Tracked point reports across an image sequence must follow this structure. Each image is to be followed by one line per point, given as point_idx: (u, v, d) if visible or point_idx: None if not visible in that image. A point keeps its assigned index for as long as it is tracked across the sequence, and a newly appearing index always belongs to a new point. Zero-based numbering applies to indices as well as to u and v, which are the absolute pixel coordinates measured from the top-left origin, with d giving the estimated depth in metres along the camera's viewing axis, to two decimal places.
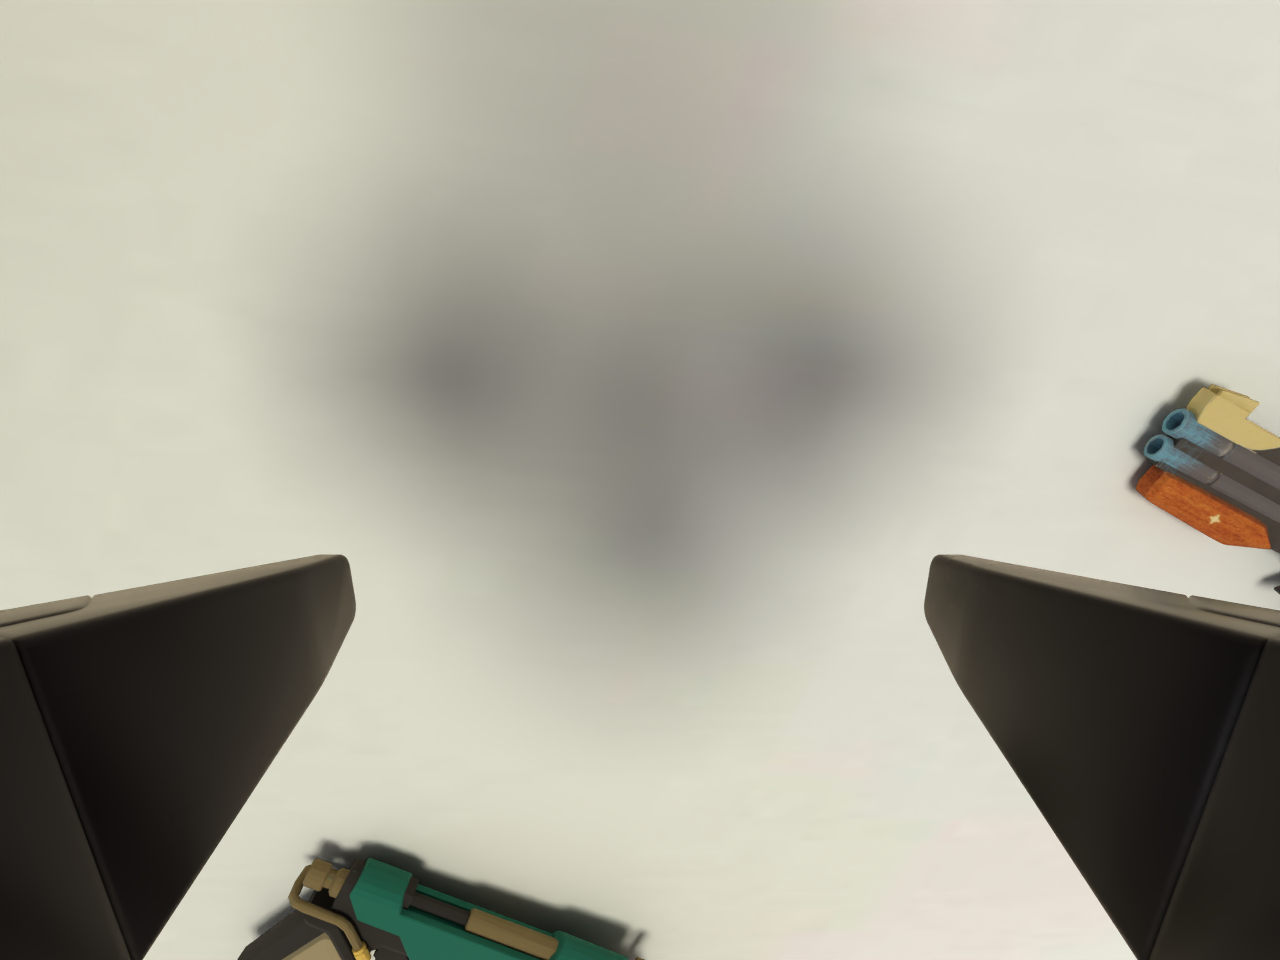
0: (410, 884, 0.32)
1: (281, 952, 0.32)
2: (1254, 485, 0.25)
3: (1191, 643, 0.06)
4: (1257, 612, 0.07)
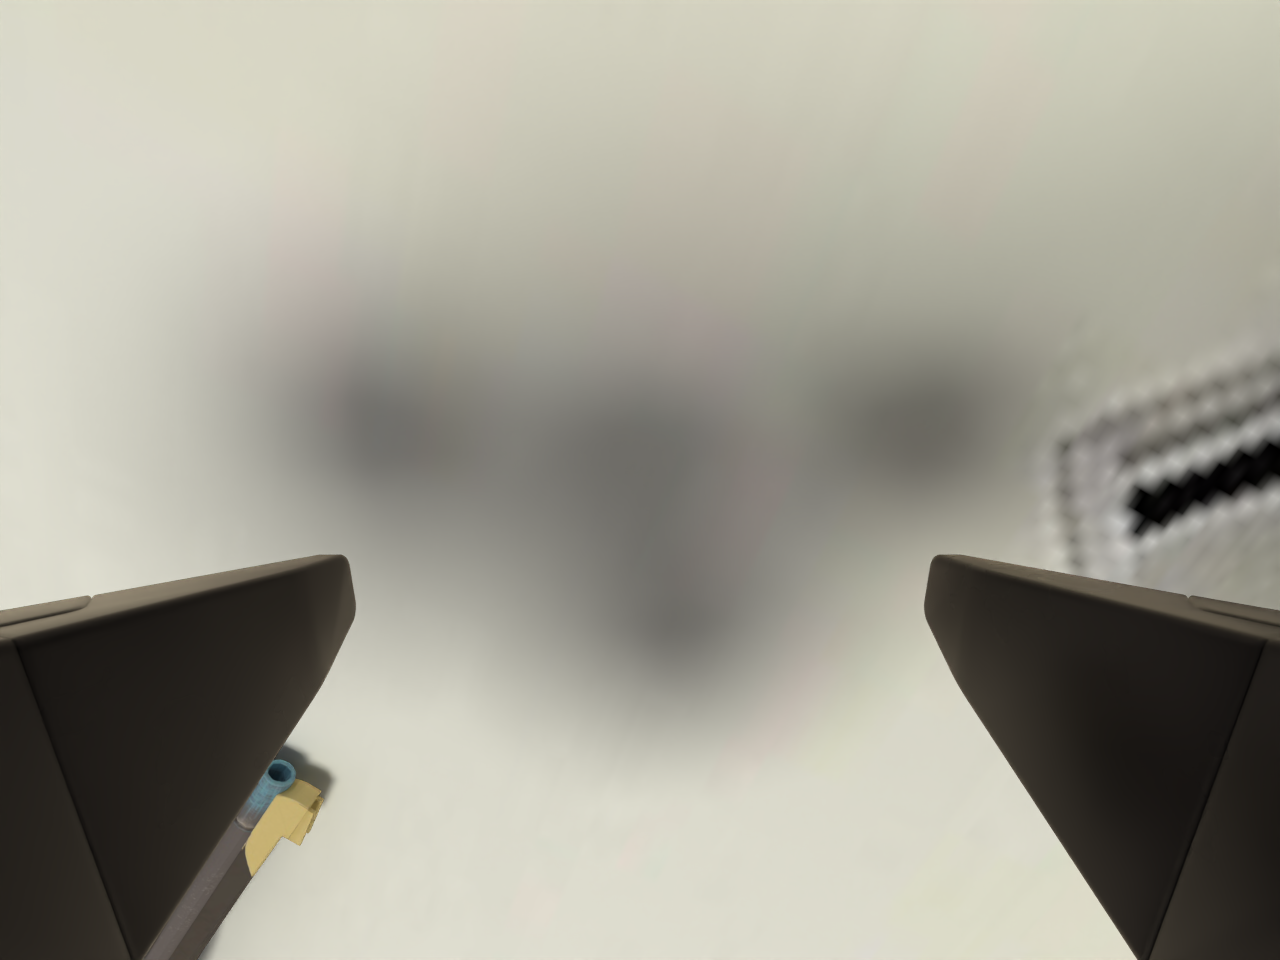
0: None
1: None
2: None
3: (1191, 643, 0.06)
4: (1257, 612, 0.07)
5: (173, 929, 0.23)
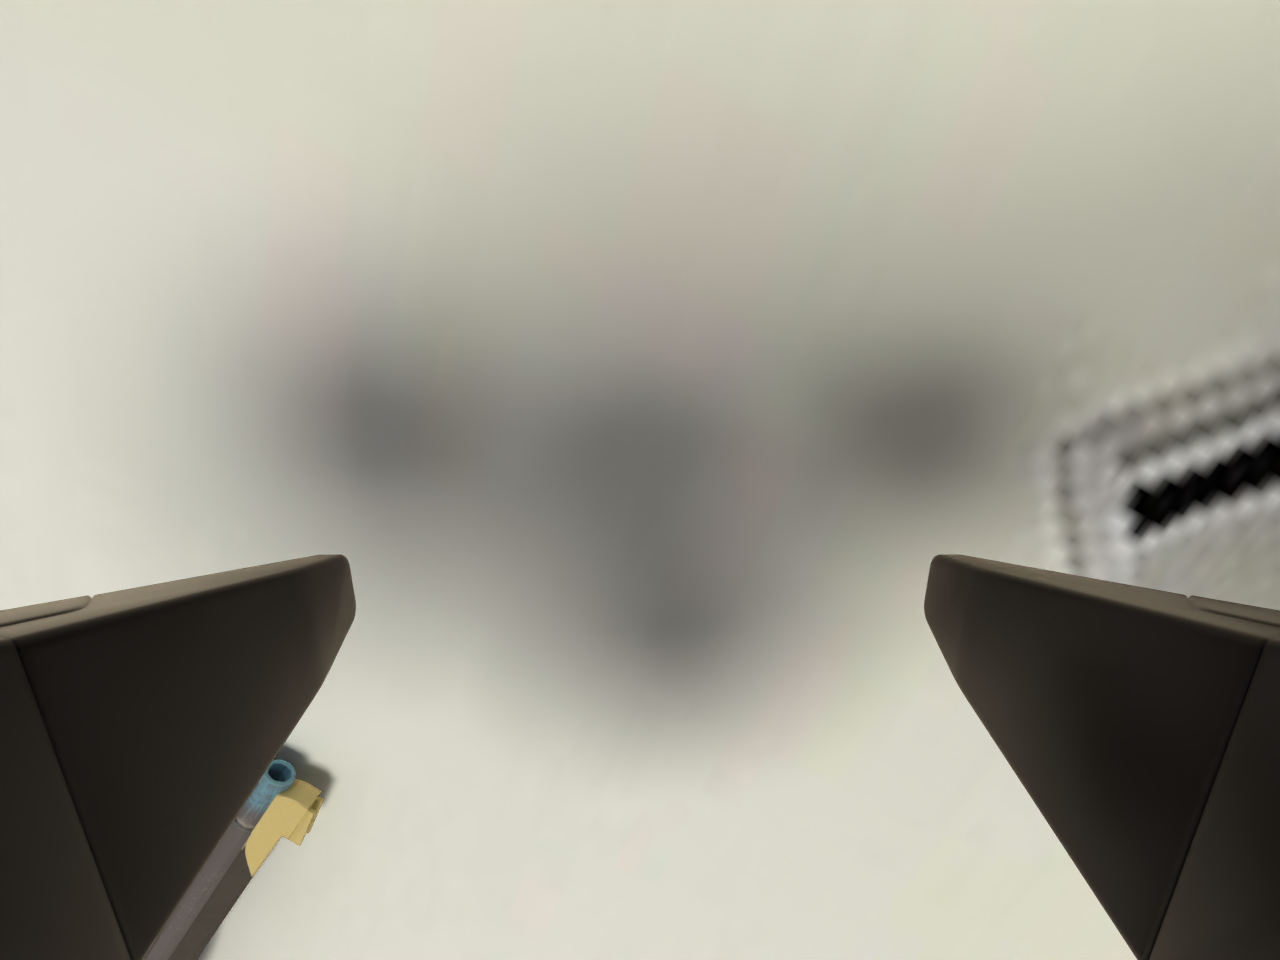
0: None
1: None
2: None
3: (1191, 643, 0.06)
4: (1257, 612, 0.07)
5: (173, 929, 0.23)
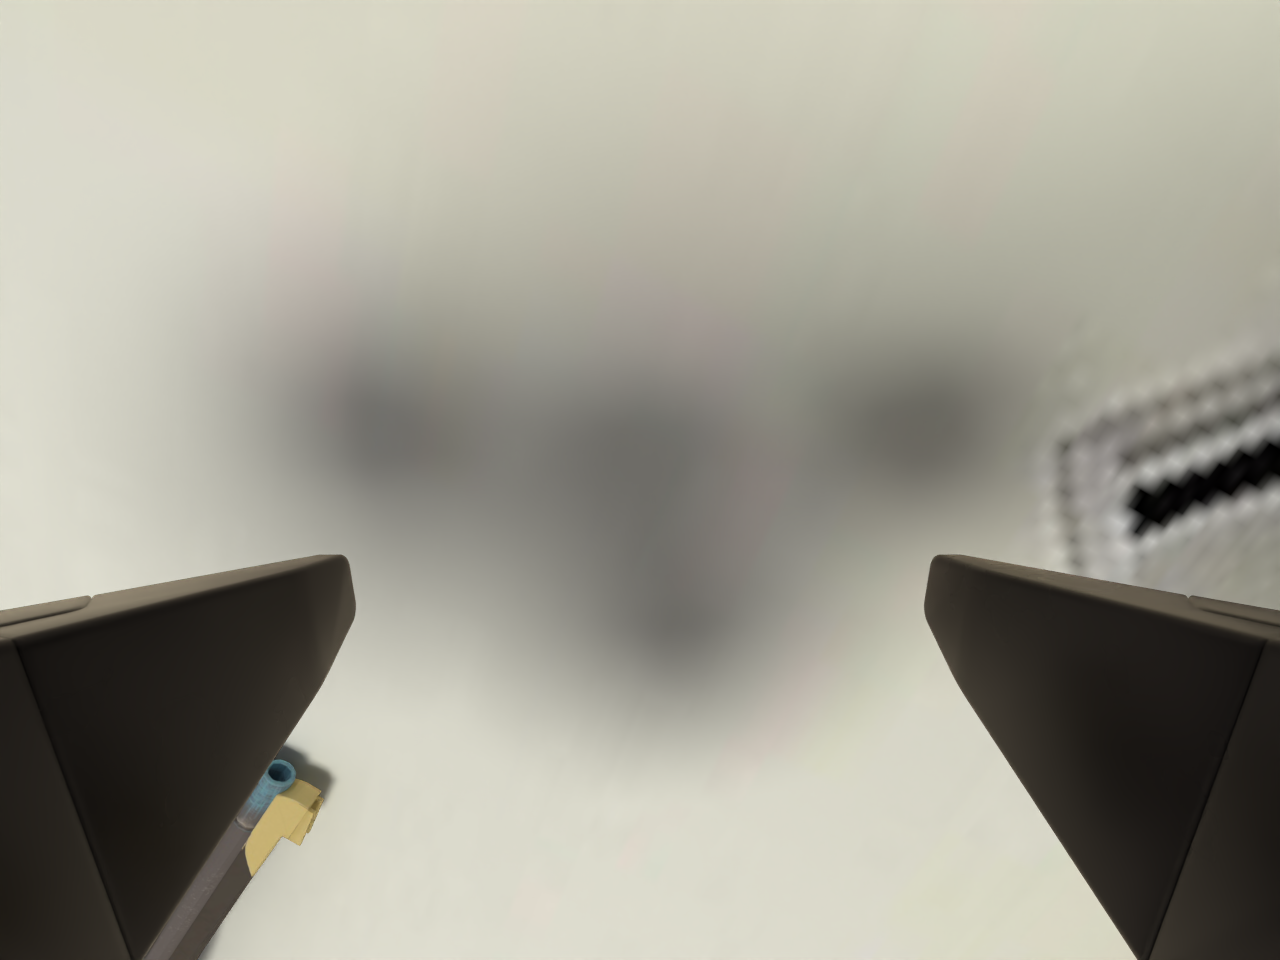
0: None
1: None
2: None
3: (1191, 643, 0.06)
4: (1257, 612, 0.07)
5: (173, 929, 0.23)
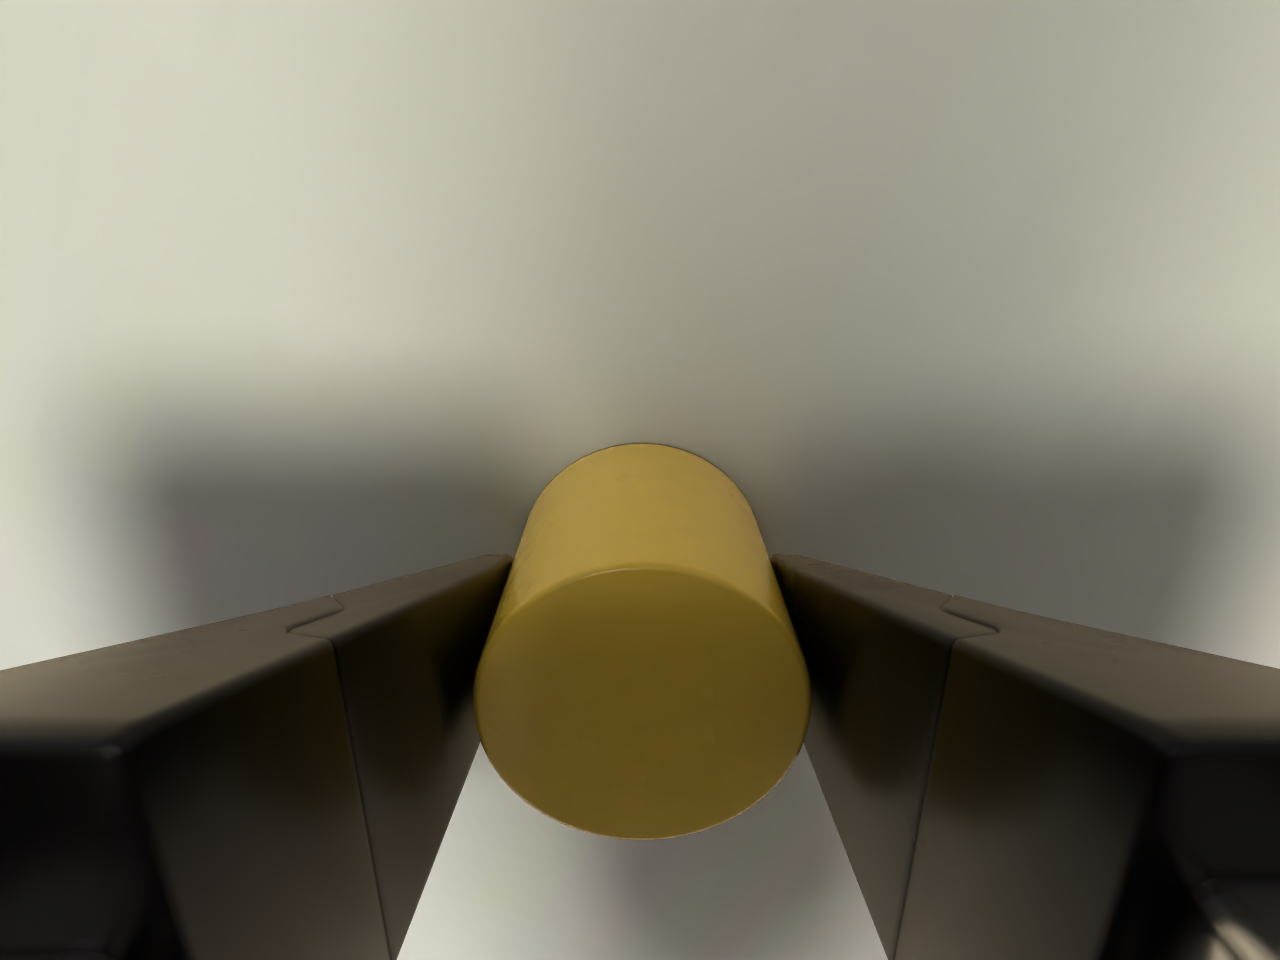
0: None
1: None
2: None
3: (911, 643, 0.06)
4: (990, 612, 0.07)
5: None
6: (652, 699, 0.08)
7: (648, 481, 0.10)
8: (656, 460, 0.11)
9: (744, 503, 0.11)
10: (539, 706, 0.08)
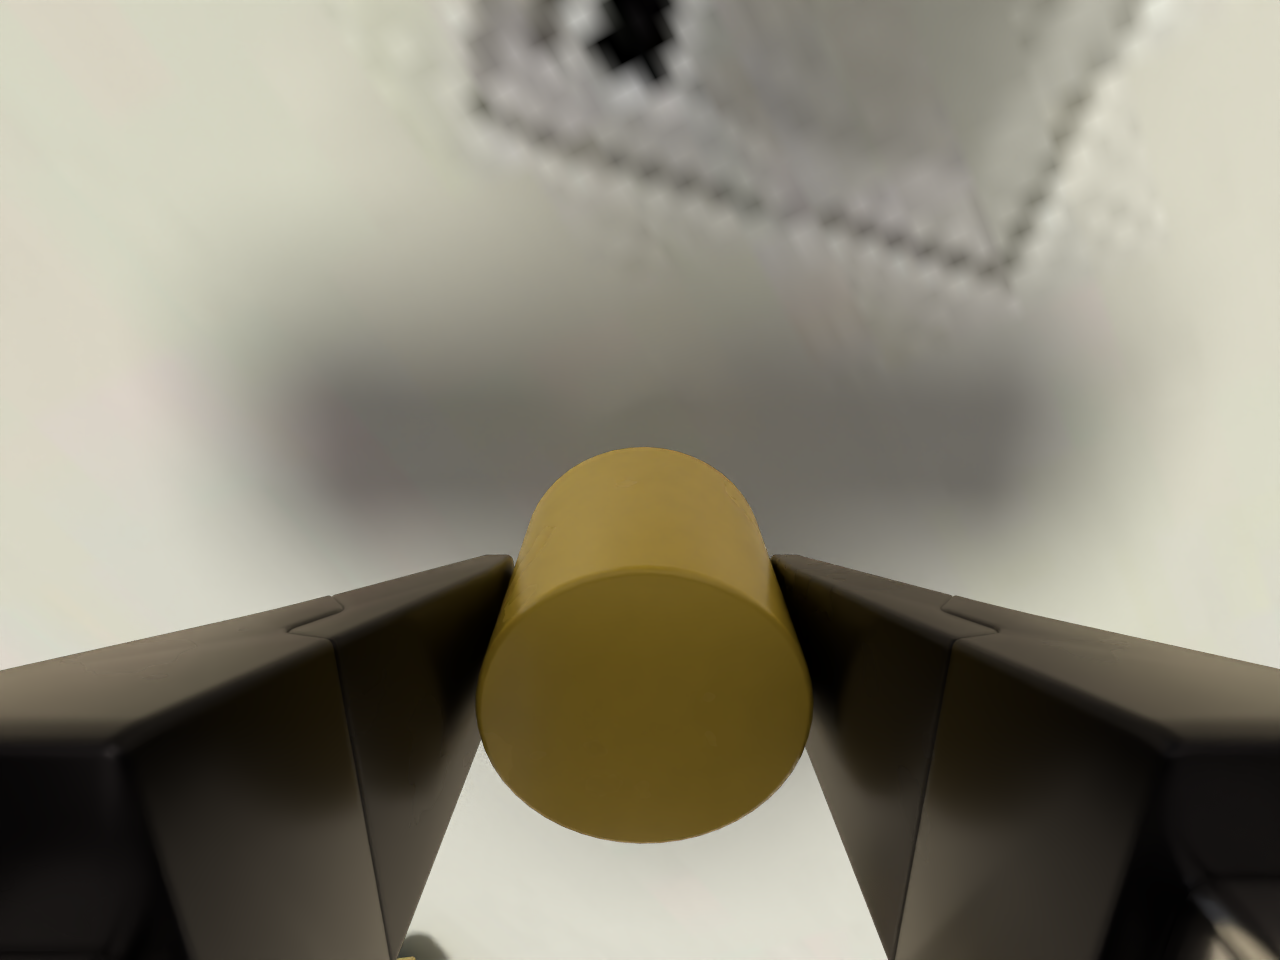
0: None
1: None
2: None
3: (911, 643, 0.06)
4: (990, 612, 0.07)
5: None
6: (654, 702, 0.08)
7: (648, 485, 0.10)
8: (657, 463, 0.11)
9: (746, 506, 0.11)
10: (540, 710, 0.08)
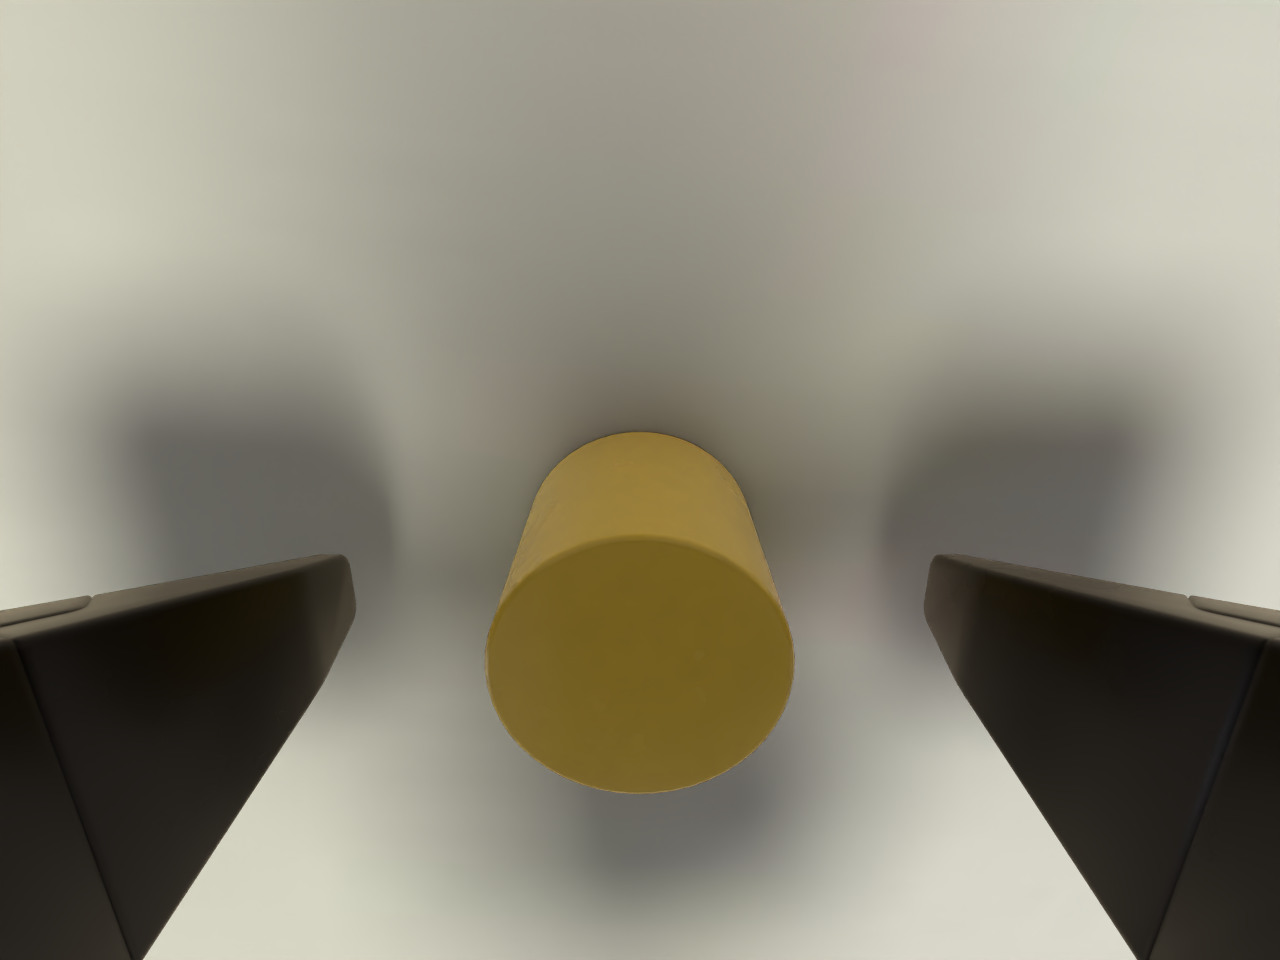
0: None
1: None
2: None
3: (1191, 643, 0.06)
4: (1257, 612, 0.07)
5: None
6: (649, 660, 0.09)
7: (645, 464, 0.11)
8: (653, 447, 0.12)
9: (735, 487, 0.12)
10: (544, 667, 0.09)
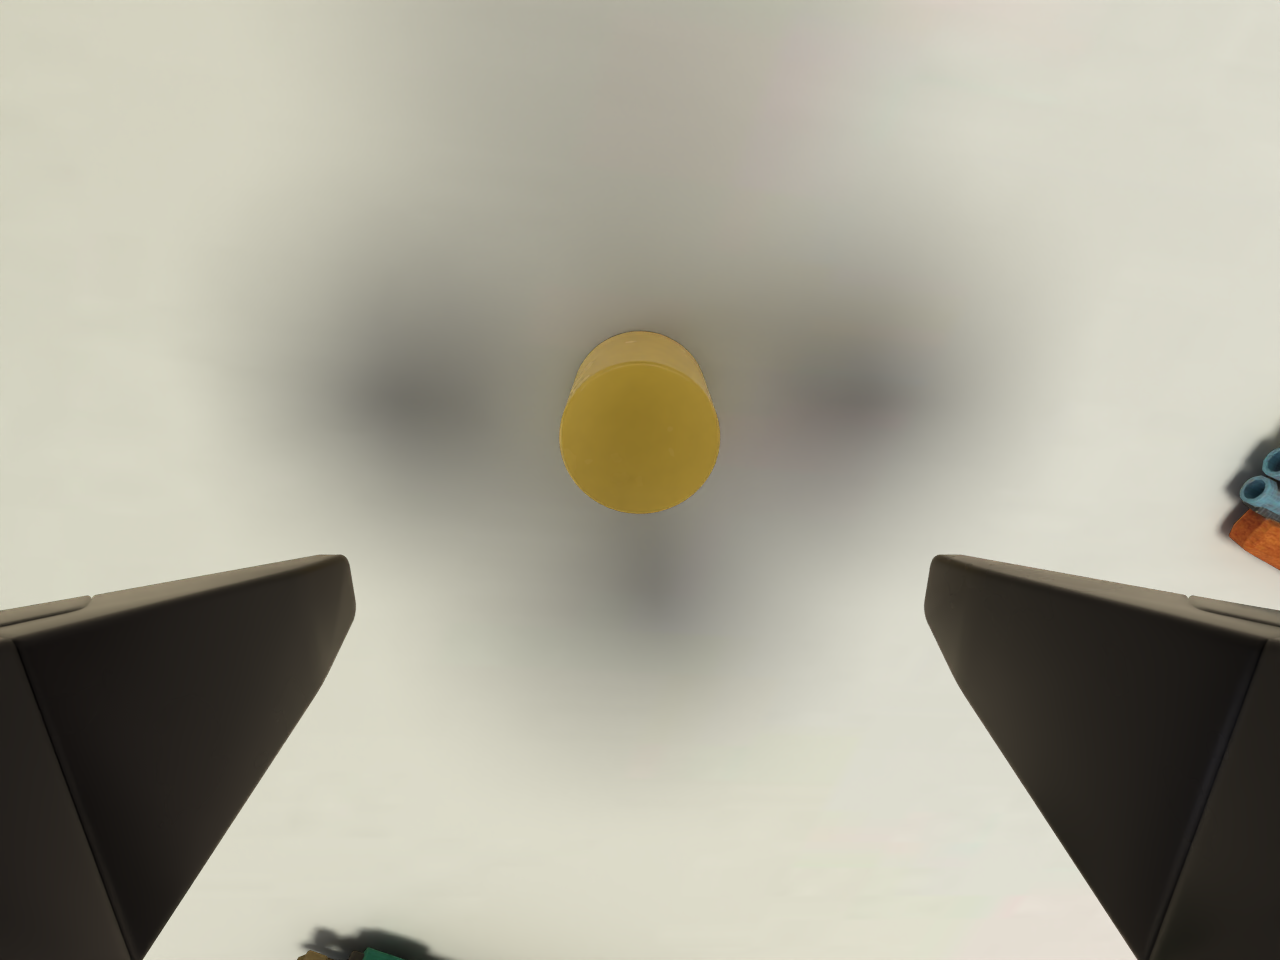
0: None
1: None
2: None
3: (1191, 643, 0.06)
4: (1257, 612, 0.07)
5: None
6: (644, 432, 0.18)
7: (642, 342, 0.19)
8: (647, 336, 0.20)
9: (695, 362, 0.21)
10: (590, 436, 0.18)
